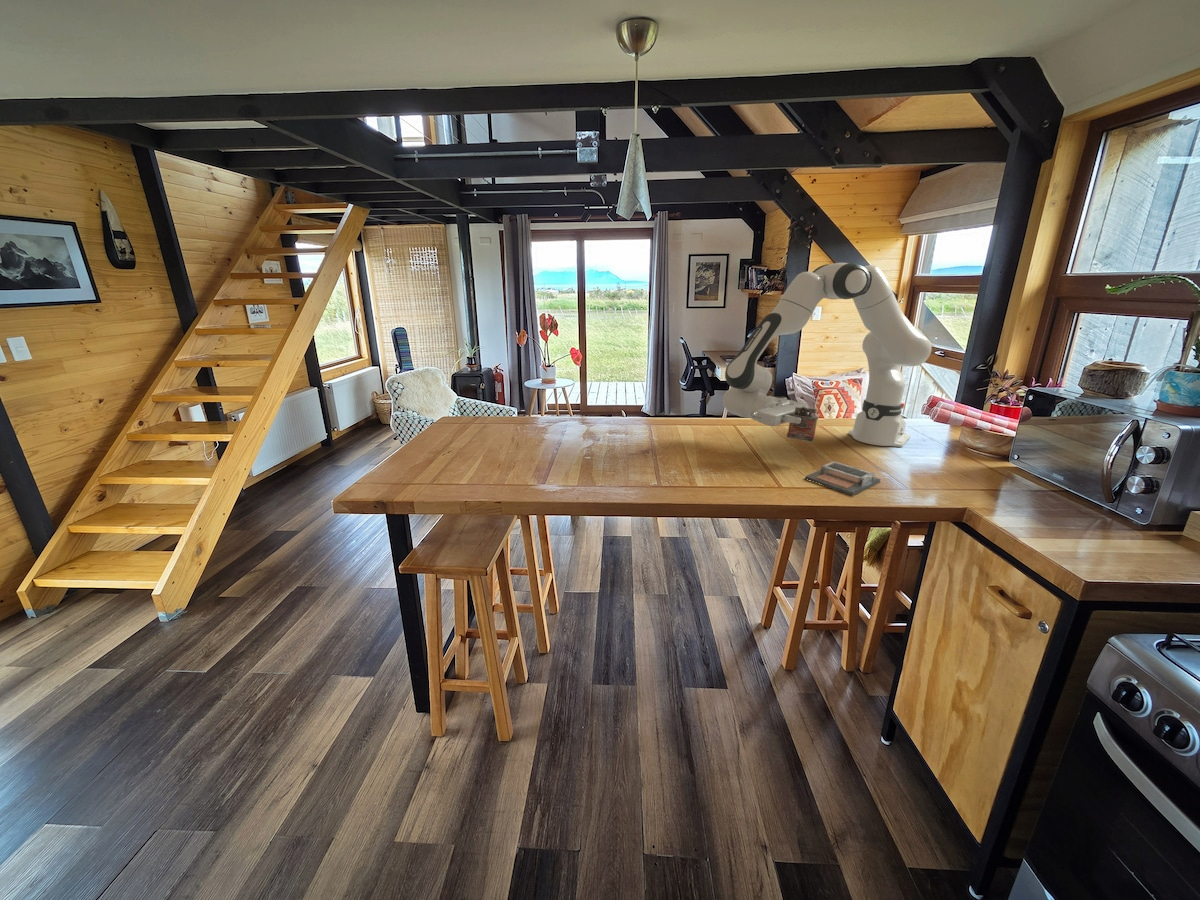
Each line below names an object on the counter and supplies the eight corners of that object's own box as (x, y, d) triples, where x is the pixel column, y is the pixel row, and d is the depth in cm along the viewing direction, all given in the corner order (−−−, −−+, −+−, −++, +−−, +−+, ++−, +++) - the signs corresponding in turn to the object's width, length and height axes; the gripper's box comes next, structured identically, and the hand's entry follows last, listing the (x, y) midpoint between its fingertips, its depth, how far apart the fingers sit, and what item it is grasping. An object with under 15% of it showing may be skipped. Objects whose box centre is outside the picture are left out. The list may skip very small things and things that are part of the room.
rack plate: (832, 467, 150) (834, 458, 149) (879, 482, 139) (882, 472, 138) (804, 479, 140) (806, 469, 139) (852, 496, 130) (855, 486, 129)
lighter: (785, 437, 151) (790, 406, 147) (788, 434, 153) (792, 404, 150) (813, 442, 147) (818, 410, 143) (815, 439, 149) (820, 407, 146)
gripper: (748, 405, 150) (788, 415, 140) (785, 395, 162) (825, 404, 152) (746, 424, 153) (785, 435, 142) (783, 413, 164) (821, 423, 154)
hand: (806, 419), depth 147 cm, fingers closed on lighter, 4 cm apart
